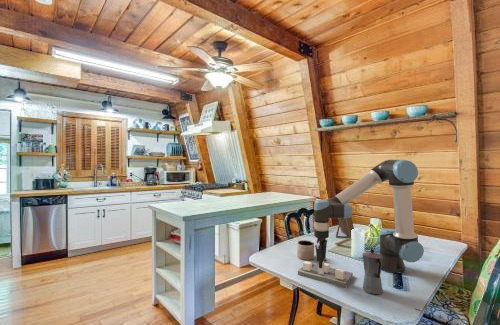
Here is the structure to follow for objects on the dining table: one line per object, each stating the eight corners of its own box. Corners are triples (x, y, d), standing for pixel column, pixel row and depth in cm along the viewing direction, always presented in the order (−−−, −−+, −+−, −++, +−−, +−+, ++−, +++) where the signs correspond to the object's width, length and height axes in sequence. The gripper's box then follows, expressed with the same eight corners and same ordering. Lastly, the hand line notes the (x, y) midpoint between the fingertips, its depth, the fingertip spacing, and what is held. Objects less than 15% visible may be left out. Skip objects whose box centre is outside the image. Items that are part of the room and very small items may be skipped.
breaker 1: (311, 269, 147) (311, 262, 147) (309, 271, 144) (309, 264, 144) (305, 267, 149) (305, 260, 149) (302, 269, 147) (303, 262, 147)
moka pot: (374, 283, 136) (375, 245, 136) (391, 299, 121) (392, 256, 120) (356, 283, 136) (357, 245, 135) (371, 299, 120) (372, 256, 120)
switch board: (352, 276, 144) (352, 272, 144) (345, 287, 131) (345, 283, 131) (307, 265, 158) (307, 262, 158) (297, 274, 146) (297, 270, 146)
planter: (314, 261, 165) (314, 246, 165) (297, 259, 167) (297, 245, 167) (313, 254, 175) (314, 240, 175) (297, 253, 178) (297, 239, 177)
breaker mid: (329, 271, 145) (329, 264, 145) (327, 273, 142) (327, 265, 142) (322, 269, 147) (322, 262, 147) (320, 271, 145) (320, 264, 145)
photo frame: (345, 231, 230) (345, 203, 230) (356, 239, 209) (356, 208, 208) (329, 231, 230) (329, 203, 230) (338, 239, 208) (337, 208, 208)
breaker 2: (344, 277, 137) (344, 270, 137) (343, 280, 134) (343, 272, 134) (336, 275, 139) (336, 268, 139) (335, 278, 137) (335, 270, 137)
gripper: (318, 225, 146) (318, 267, 146) (310, 231, 135) (310, 276, 136) (332, 227, 142) (331, 270, 142) (324, 233, 131) (324, 280, 131)
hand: (321, 273), depth 139 cm, fingers closed
